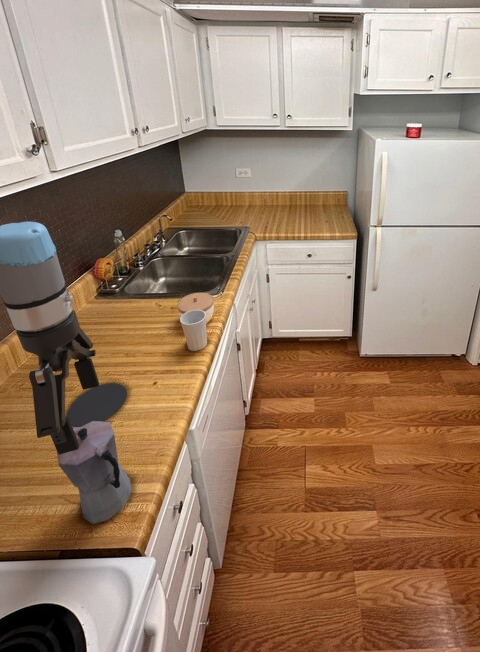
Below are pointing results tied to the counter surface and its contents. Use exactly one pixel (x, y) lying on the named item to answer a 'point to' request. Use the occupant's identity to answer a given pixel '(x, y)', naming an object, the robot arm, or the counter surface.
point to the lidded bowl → (197, 304)
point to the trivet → (97, 404)
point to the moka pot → (97, 472)
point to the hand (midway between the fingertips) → (81, 415)
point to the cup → (194, 329)
